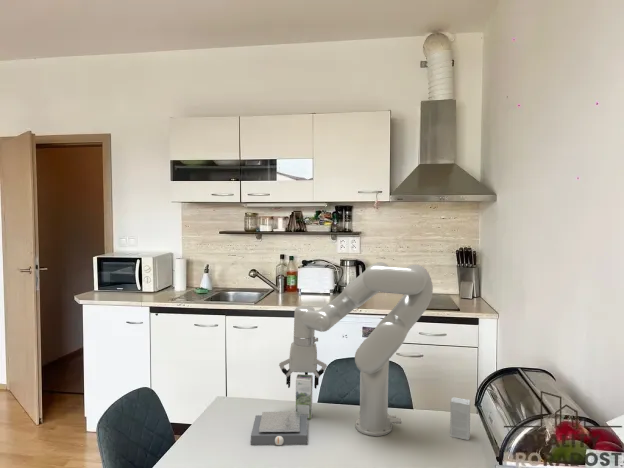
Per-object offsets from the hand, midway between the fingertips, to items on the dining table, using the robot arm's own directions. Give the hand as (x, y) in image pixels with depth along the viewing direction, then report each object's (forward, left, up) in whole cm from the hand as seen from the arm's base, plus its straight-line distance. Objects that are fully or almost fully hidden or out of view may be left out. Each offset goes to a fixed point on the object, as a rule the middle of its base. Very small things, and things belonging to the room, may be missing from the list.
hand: (302, 386), depth 159 cm
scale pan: (+7, +13, -7) cm, 17 cm away
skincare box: (-53, +15, -11) cm, 56 cm away
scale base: (+7, +13, -11) cm, 19 cm away
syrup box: (-1, 0, -11) cm, 11 cm away
